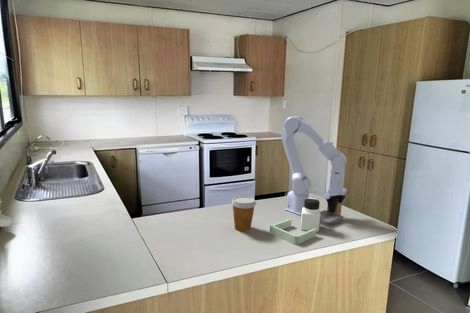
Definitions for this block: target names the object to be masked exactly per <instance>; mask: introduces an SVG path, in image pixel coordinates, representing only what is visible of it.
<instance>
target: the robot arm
mask: <svg viewBox="0 0 470 313" xmlns="http://www.w3.org/2000/svg"><path fill="white" fill-rule="evenodd" d="M282 125H283V126H282V127H283V128H282V130H281V131H282V132H281V136H280V138H281V141H282V145H283V149H284V152H285V154H286V158H287V161H288V166H289V168H290V171H291V175H292V176H291V181H292V187H291V189H292V190H290V191H289V192H288V193H287V197H286V208H284V209H285V210H286V211H287V212H291V213H293V214H295V215H298V216H302V208H304V200H305V199H307V198H310V192H309V189H310V187H311V180H310V178H308V177H307V173H306V172H305V171H304V169H303V166H302V165H303V164H302V162H301V159H300V156H299V153H298V149H297V147H296V142H295V139H294V137H295V136H296V134H297V133H303V134H306V135H307V137H309V138H310V139H311V140H312V141H313V142H314V144H316V145H317V147H318V151H319V152H320V153H321V154H322V155H323V156H324V157H325V158H326V159H327V160H328V161H329V162H330V165H331V170H330V177H329V187H328V190H327V192H325V193H324V195H323V196H324V199H325V200H326V203H327V206H328V207H329V212H332V213H334V212H335V208H336V204H337V202H340V203H342V204H343V202H344V200H345V199H346V193H347V188H345V187H344V184H345V183H344V182H345V176H346V175H345V174H346V172H345V170H346V164H347V157H346V155H345V153H343V152H342V151H341V150H338V148H337V147H335V145H334V143H333V141H330V140H325V139H323V138H322V136H321V135H320V134H319V133H318V132H317V131H316V130H315V129H314V128H313V126H311V125H310V123H309V122H308V121H307V120H306V119H304V118H303V117H302V116H301V115H294V116H288V117H287V118H286V119H285V121H284V122H283V124H282Z"/></svg>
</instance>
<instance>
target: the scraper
mask: <svg viewBox="0 0 470 313" xmlns="http://www.w3.org/2000/svg"><path fill="white" fill-rule="evenodd" d="M342 205H343V202H342V203H340V202H337V204H336V208H335V212H334V213H332V212H329V207H328V205H327V207H326V208H327V210H326V209H325V210H322V211H321V210H320V215H321V217H320V226H321V225H322V226H325V227H327V228H330V227H332V226H334V225H336V224H338V223H340V222H342V221H343V219H344V216H343V215H341V214H342Z"/></svg>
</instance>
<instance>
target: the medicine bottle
mask: <svg viewBox="0 0 470 313" xmlns="http://www.w3.org/2000/svg"><path fill="white" fill-rule="evenodd" d="M320 204H321V202H320V200H319V199H318V198H317V199H316V198H313V197H309V198H307V199H305V200H304V208H302V215H300V217H301V218H300V230H302V231H309V230H311V229H314V228H315V229H317V231H316V233H319V232H320V226H321V224H320V217H321V215H320V212H321V210H320Z"/></svg>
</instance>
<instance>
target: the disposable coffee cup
mask: <svg viewBox="0 0 470 313" xmlns="http://www.w3.org/2000/svg"><path fill="white" fill-rule="evenodd" d="M231 204H232V211H233V213H232V214H233V222H234V223H233V224H234V229H235V231H238V232H248V231H250V230H251V228H252V223H253V216H254V210H255V206H256V204H257V202H256V200H255V198H253V197H251V196H245V195H239V196H235V197H233V198H232V201H231Z"/></svg>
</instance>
